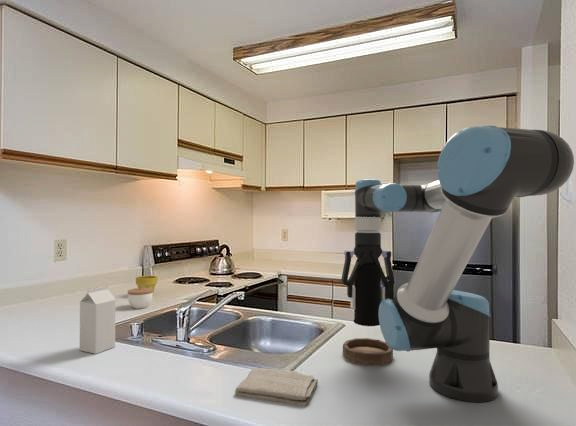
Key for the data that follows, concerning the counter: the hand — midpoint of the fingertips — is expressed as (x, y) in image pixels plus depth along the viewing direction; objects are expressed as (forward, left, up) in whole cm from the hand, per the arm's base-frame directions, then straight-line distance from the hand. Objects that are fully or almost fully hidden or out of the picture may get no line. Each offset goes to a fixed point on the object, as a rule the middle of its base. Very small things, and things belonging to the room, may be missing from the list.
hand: (367, 308), depth 113 cm
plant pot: (+90, +89, -14) cm, 127 cm away
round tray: (0, 0, -14) cm, 14 cm away
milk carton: (+12, +82, -14) cm, 84 cm away
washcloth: (-20, +28, -15) cm, 37 cm away
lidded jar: (+66, +85, -14) cm, 108 cm away
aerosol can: (0, 0, -4) cm, 4 cm away
